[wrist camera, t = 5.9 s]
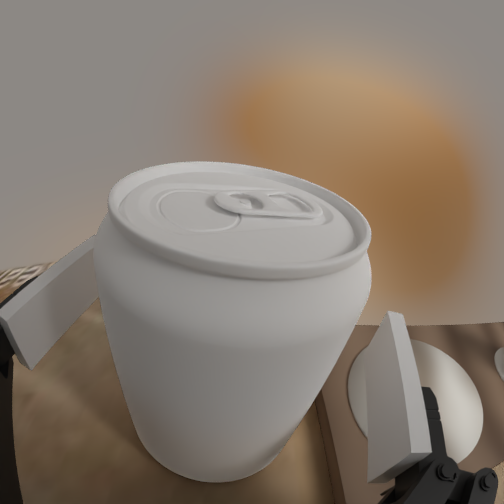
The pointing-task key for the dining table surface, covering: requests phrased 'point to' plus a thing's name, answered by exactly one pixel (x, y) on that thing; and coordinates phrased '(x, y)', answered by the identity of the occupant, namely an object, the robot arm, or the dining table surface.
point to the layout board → (431, 375)
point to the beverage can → (226, 307)
